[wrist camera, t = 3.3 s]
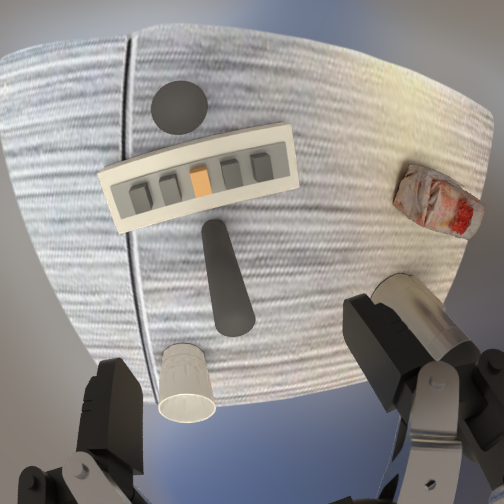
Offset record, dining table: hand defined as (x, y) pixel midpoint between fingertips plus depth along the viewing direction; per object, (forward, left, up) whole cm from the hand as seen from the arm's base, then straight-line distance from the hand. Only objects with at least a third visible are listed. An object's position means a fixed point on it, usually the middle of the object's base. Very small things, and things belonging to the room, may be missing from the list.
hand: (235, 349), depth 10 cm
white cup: (+10, +27, -26) cm, 39 cm away
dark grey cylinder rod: (0, +7, -25) cm, 26 cm away
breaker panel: (0, 0, -25) cm, 25 cm away
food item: (-31, +9, -26) cm, 41 cm away
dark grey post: (0, -8, -25) cm, 26 cm away
